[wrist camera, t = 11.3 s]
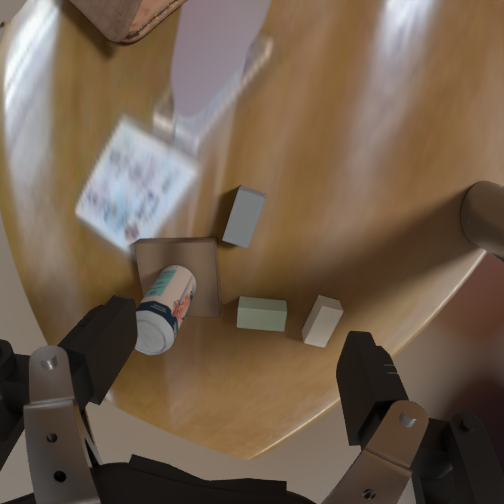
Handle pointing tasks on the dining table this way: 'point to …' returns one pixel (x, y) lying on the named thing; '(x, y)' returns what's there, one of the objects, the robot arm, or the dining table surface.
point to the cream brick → (322, 321)
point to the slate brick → (244, 216)
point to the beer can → (164, 310)
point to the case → (126, 16)
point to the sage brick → (261, 314)
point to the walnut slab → (192, 258)
